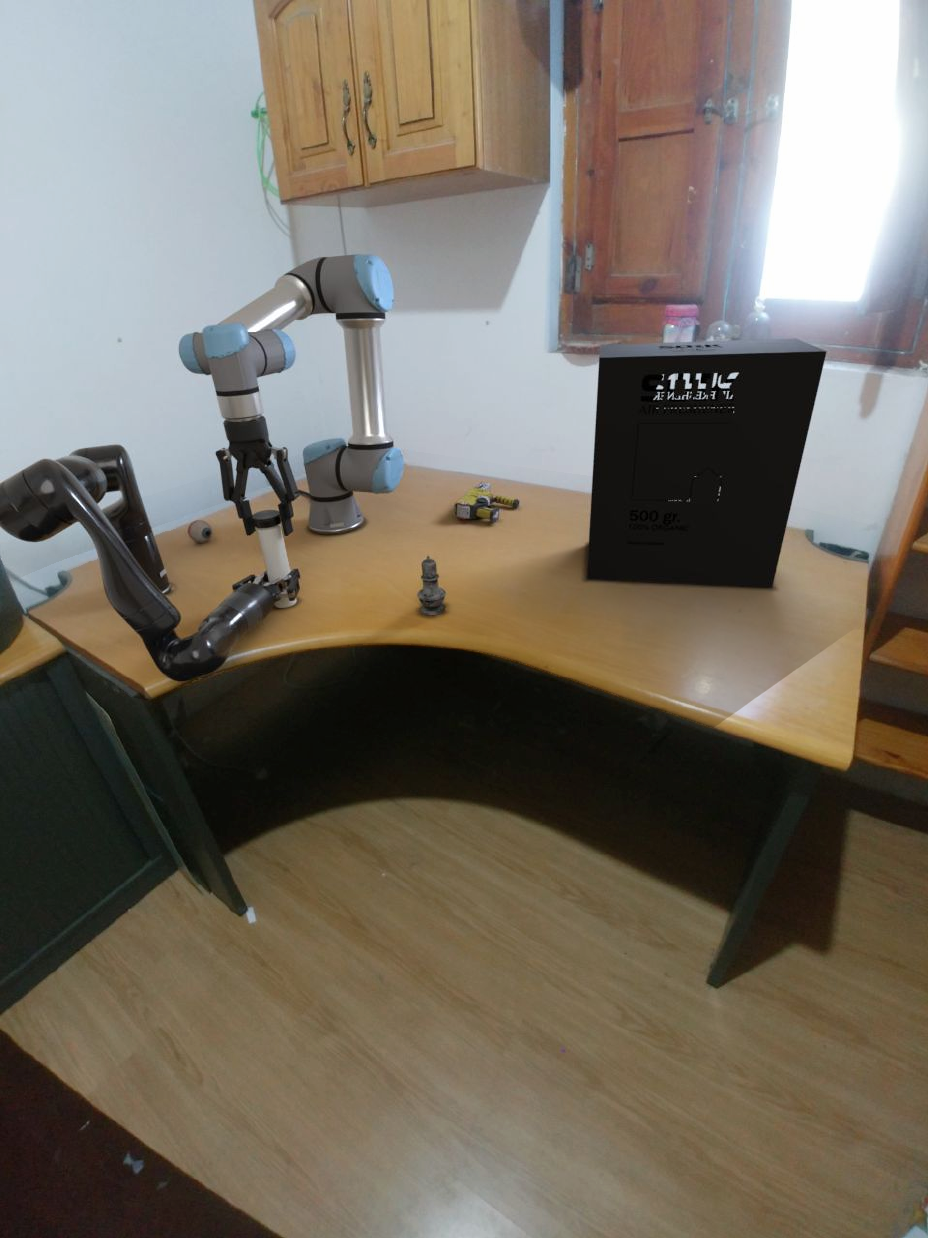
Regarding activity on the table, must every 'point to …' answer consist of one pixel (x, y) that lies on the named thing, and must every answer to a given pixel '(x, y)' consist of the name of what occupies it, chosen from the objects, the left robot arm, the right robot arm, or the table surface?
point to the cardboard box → (698, 459)
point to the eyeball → (200, 531)
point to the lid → (266, 519)
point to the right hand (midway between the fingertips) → (270, 533)
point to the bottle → (275, 558)
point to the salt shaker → (431, 589)
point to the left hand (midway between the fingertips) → (285, 571)
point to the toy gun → (481, 504)
